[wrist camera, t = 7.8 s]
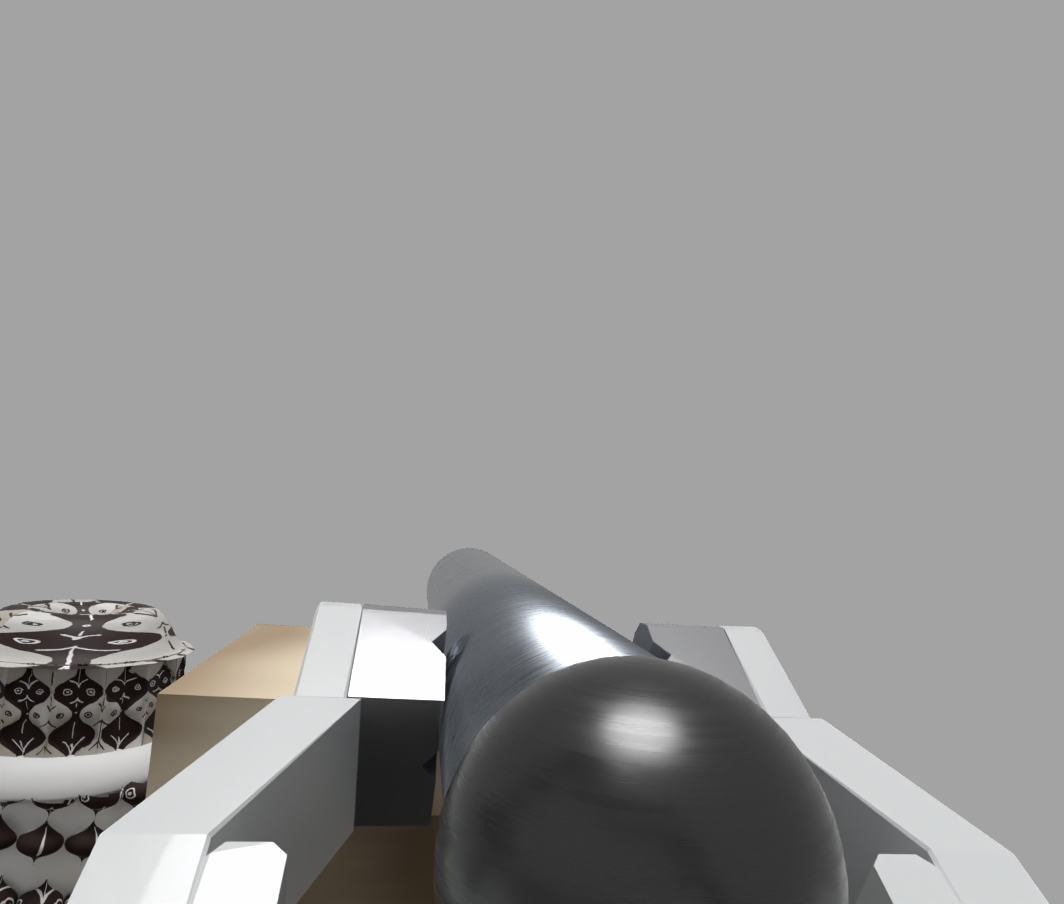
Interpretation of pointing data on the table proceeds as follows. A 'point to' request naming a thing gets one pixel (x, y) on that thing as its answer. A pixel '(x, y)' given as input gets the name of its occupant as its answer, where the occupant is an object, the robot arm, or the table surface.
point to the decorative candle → (74, 732)
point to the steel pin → (608, 766)
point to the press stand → (237, 695)
